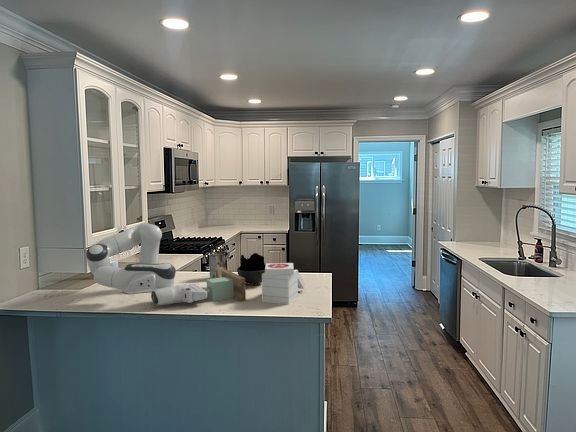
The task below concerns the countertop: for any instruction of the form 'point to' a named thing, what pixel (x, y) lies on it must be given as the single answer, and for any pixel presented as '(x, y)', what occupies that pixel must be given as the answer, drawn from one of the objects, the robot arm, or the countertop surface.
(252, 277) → the coal bowl
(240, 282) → the walnut backstop board
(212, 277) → the coffee box
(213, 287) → the sage block
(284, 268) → the pizza box stack
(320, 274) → the countertop surface
